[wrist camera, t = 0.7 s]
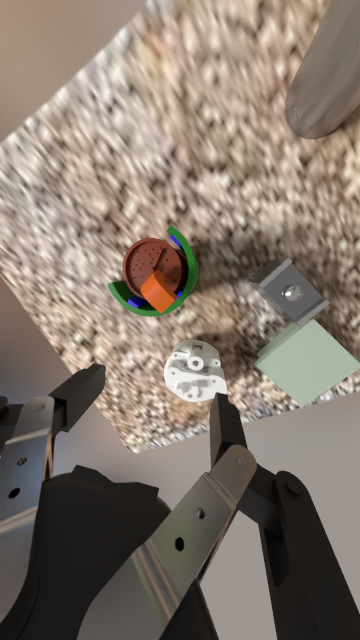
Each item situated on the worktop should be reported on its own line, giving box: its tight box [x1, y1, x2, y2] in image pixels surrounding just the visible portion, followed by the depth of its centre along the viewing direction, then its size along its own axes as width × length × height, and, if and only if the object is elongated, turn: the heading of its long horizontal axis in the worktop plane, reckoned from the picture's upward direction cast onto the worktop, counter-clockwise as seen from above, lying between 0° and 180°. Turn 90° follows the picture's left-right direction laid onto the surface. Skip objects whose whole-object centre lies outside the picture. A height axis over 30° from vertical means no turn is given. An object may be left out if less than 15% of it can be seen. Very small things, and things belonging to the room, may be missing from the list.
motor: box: [107, 225, 199, 317], centre depth 24 cm, size 10×9×20 cm
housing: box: [247, 258, 330, 326], centre depth 29 cm, size 5×9×8 cm, turn 46°
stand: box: [255, 318, 360, 407], centre depth 33 cm, size 12×12×5 cm
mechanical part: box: [164, 340, 227, 402], centre depth 33 cm, size 11×12×12 cm
